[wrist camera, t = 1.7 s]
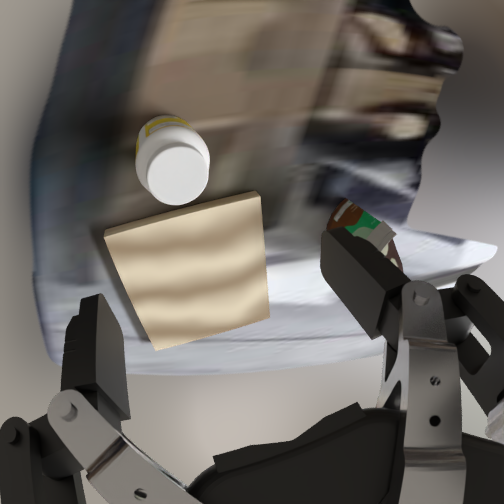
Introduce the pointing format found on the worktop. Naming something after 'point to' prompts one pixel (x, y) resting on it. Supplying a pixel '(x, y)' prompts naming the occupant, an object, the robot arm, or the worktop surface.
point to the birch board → (194, 269)
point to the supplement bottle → (171, 160)
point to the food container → (365, 229)
